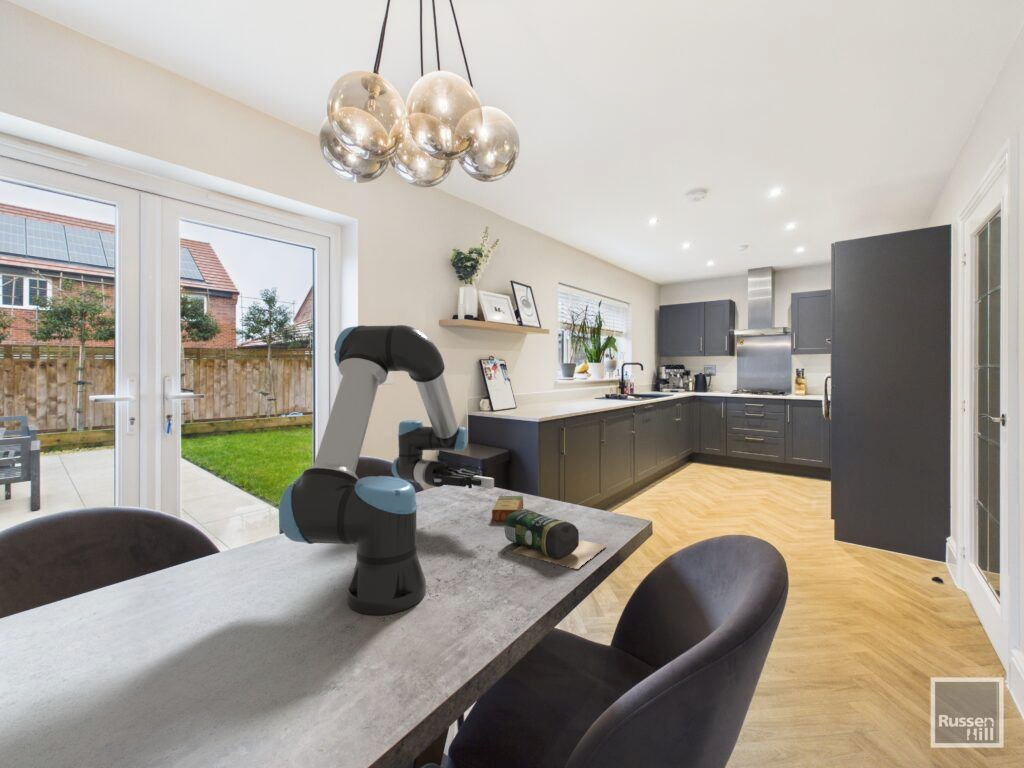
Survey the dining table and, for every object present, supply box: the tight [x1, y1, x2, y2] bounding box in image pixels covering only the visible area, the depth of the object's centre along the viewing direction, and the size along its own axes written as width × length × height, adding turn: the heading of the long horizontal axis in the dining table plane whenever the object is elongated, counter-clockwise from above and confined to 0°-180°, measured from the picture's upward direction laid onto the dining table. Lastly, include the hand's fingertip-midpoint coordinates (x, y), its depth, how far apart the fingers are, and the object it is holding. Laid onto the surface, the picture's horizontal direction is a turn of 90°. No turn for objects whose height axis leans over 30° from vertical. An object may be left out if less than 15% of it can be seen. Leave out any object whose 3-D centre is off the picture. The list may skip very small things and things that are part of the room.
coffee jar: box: [504, 508, 580, 559], centre depth 113 cm, size 10×8×19 cm
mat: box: [512, 539, 607, 569], centre depth 113 cm, size 18×16×1 cm
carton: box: [491, 495, 524, 523], centre depth 142 cm, size 8×16×4 cm, turn 174°
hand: (492, 483), depth 124 cm, fingers closed
